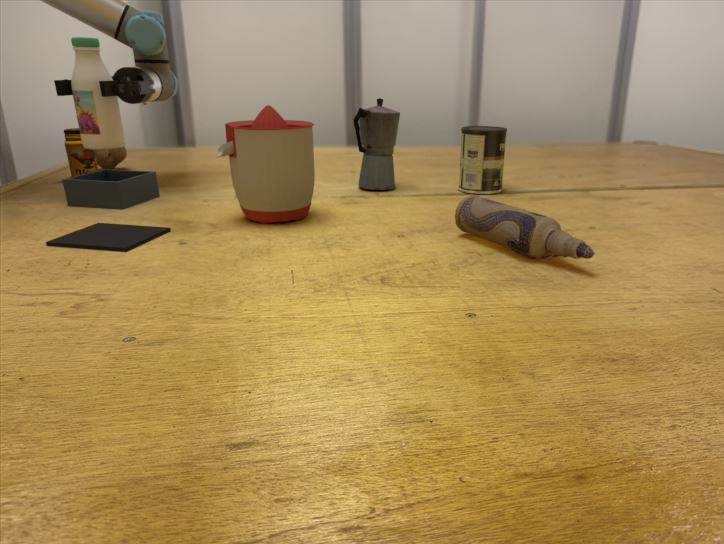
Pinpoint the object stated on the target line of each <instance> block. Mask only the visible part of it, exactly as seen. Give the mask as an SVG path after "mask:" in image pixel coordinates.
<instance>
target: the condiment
mask: <svg viewBox="0 0 724 544" xmlns="http://www.w3.org/2000/svg"><path fill="white" fill-rule="evenodd" d="M63 134H64V139H65V141H64V148H65V152H66V156H67V161H68V166H69V170H70V175H71V176H70V177H74V176H78V175H82V174H87V173H91V172H95V171H99V170H100V169H99V167H98V165H97V161H96V156H95V150H94V149H89V148H85V147H84V146H83V144H82V140H81V135H80V130H79V127H74V128H73V127H72V128H66V129H64V130H63ZM58 182H63V181H62V179H59V180H58Z"/></svg>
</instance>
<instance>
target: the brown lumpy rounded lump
mask: <svg viewBox="0 0 724 544" xmlns="http://www.w3.org/2000/svg"><path fill="white" fill-rule="evenodd" d="M94 150H95V156H96V161H97V165H98V166H99V167H100V168H101V170H103V169H112V170H115V168H116V167H117V166H118V165H120V163H122V162H124V161H125V160H126V158H127V156H128V151H127V149H126V147H125V146H124V147H119V148H110V149H94Z"/></svg>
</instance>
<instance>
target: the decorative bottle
mask: <svg viewBox="0 0 724 544" xmlns="http://www.w3.org/2000/svg"><path fill="white" fill-rule="evenodd" d="M454 220H455V225H456V227H457V228H458V229H459V230H460V231H461V232H462V233H466V234H469V235H473V236H475V237H478V238H481V239H483V240H486V241H489V242H492V243H494V244H497V245H500V246H501V247H505V248H509V249H510V250H511V251H513V252H515V253H517V254H518V255H522V256H524V257H527V258H529V259H531V260H538V259H545V258H549V257H552V258H557V257H563V258H572V259H574V260H580V259H581V258H582V259H586V260H589V259H592V258H593V257H594V255H595V254H596V253H595V252H594V250H593V248H592V247H591V246H590V245H588V244H587V243H586V241H585V240H583V239H580V238H578V237H577V238H576V237H574V236H573V235H571V234H570V233H569V232H567V231H565V230H562V225H561V224H560V223H559V222H558V221H557V220H556V219H555V218H553V217H549V216H547V215H544V214H540V213H536V212H533V211H530V210H527V209H526V208H520V207H517V206H514V205H509V204H506V203H503V202H499V201H497V200H492V199H490V198H486V197H482V196H481V195H479V194H472V195H469V196H466V197H464V198H463V199H461V201H460V202H458V205H457V207H456V209H455V212H454Z"/></svg>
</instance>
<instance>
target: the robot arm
mask: <svg viewBox="0 0 724 544" xmlns="http://www.w3.org/2000/svg"><path fill="white" fill-rule="evenodd" d="M39 1H41V2H43V3H44V4H46V5H48V6H50V7H52V8H54V9H56V10H57V11H59V12H62V13H63V14H66V15H68V16H70V17H71V18H73V19H74V20H76V21H79V22H81V23H83V24H85V25H87V26H89V27H91V28H92V29H94V30H97V31H98V32H100V33H102V34H104V35H106V36H107V37H110V38H112V39H113V40H115V41H117V42H119V43H121V44H122V45H125V46H126V47H129V48H130V49H132V52H133V53H132V54H133V58H134V59H133V60H134V66H123V67H120V68H118V69H117V70H116V71H115V72H114V73H113V75H111V77H112V79H113V81H99V84H100V89H101V95H102V97H109V96H117V98H118V99H120V100H121V101H122V102H124V103H127V104H130V105H136V104H142V105H143V106H148V103H151V102H152V103H153V102H164V101H167V100H170V99H172V98H173V97H174V96H175V95H176V94H177V92H178V90H179V81H178V78H177V77H176V75H175V73H174V72H173V71H171V66H170V61H169V54H168V53H169V52H168V44H167V32H166V26H165V23H164V17H163V15H162V14H161V12H159V11H157V10H156V11H155V10H148V9H136V8H135V7H133V6H130V5H129V4H127V3H126V2H124V1H122V0H39ZM53 80H54V81H53V82H54V86H55V91H56V96H57V97H65V96H73V93H72V86H71V79H66V78H65V79H53Z"/></svg>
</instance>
